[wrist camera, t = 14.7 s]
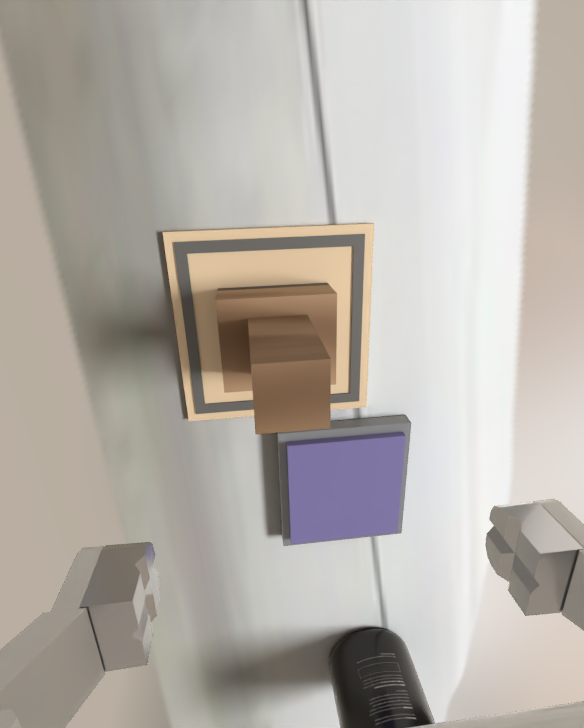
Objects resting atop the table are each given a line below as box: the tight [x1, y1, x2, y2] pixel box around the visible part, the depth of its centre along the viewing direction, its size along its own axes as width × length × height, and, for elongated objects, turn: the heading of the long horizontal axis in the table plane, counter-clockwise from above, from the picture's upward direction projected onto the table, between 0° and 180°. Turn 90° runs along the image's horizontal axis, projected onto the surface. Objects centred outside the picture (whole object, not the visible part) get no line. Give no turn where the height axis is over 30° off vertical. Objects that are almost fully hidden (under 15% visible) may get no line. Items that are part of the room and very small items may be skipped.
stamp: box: [215, 283, 337, 434], centre depth 21 cm, size 5×6×9 cm
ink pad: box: [277, 415, 411, 546], centre depth 29 cm, size 9×8×2 cm
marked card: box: [163, 223, 374, 421], centre depth 25 cm, size 11×11×1 cm
